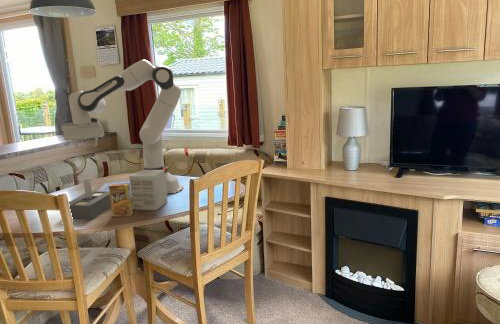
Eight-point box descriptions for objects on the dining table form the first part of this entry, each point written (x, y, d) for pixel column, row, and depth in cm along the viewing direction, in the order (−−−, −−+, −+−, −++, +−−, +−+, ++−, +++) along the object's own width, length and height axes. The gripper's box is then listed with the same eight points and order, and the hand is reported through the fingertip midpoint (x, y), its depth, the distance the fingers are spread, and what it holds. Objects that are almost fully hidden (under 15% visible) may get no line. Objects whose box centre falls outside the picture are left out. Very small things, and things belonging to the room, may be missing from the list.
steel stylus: (92, 200, 193) (89, 177, 190) (93, 202, 190) (89, 178, 188) (86, 201, 192) (83, 178, 189) (86, 203, 189) (83, 179, 187)
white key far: (90, 207, 187) (89, 201, 186) (84, 211, 182) (83, 205, 181) (80, 207, 188) (79, 201, 187) (74, 211, 183) (73, 205, 182)
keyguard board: (115, 204, 202) (113, 191, 200) (91, 219, 181) (89, 205, 179) (90, 204, 204) (89, 191, 202) (64, 219, 183) (62, 205, 181)
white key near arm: (105, 198, 200) (104, 193, 200) (99, 202, 195) (99, 196, 195) (96, 198, 201) (95, 193, 201) (90, 201, 196) (89, 196, 196)
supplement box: (144, 201, 205) (141, 169, 201) (167, 201, 202) (164, 169, 198) (132, 209, 193) (128, 175, 189) (156, 210, 190) (153, 176, 186)
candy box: (112, 217, 183) (108, 186, 180) (115, 213, 187) (111, 183, 184) (130, 216, 183) (127, 185, 180) (133, 213, 187) (129, 182, 184)
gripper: (60, 122, 200) (65, 148, 200) (102, 118, 209) (106, 143, 209) (60, 124, 206) (65, 150, 205) (100, 120, 215) (105, 145, 215)
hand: (86, 147), depth 207 cm, fingers open, 8 cm apart
